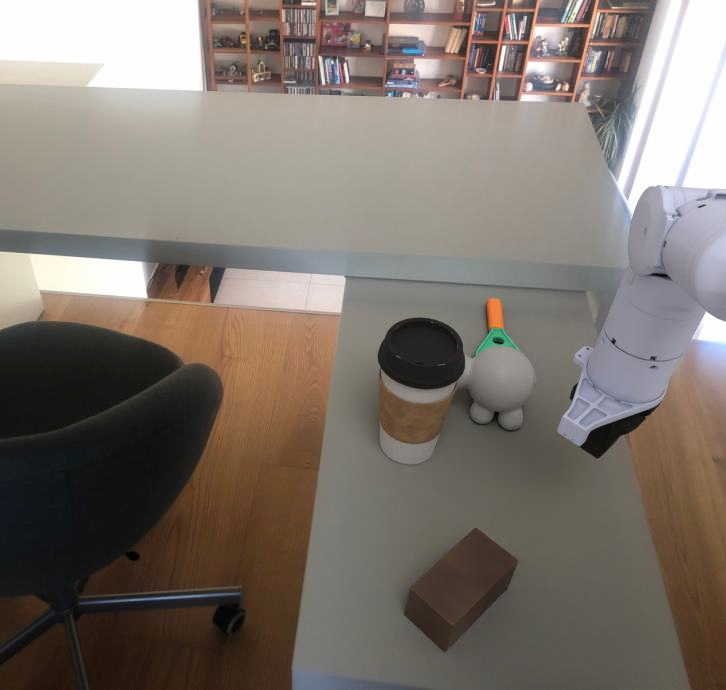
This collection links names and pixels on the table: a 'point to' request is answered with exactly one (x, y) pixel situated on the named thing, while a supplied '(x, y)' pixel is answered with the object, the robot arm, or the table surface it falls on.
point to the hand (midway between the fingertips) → (591, 448)
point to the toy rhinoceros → (498, 385)
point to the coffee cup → (416, 386)
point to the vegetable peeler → (495, 327)
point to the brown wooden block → (459, 588)
